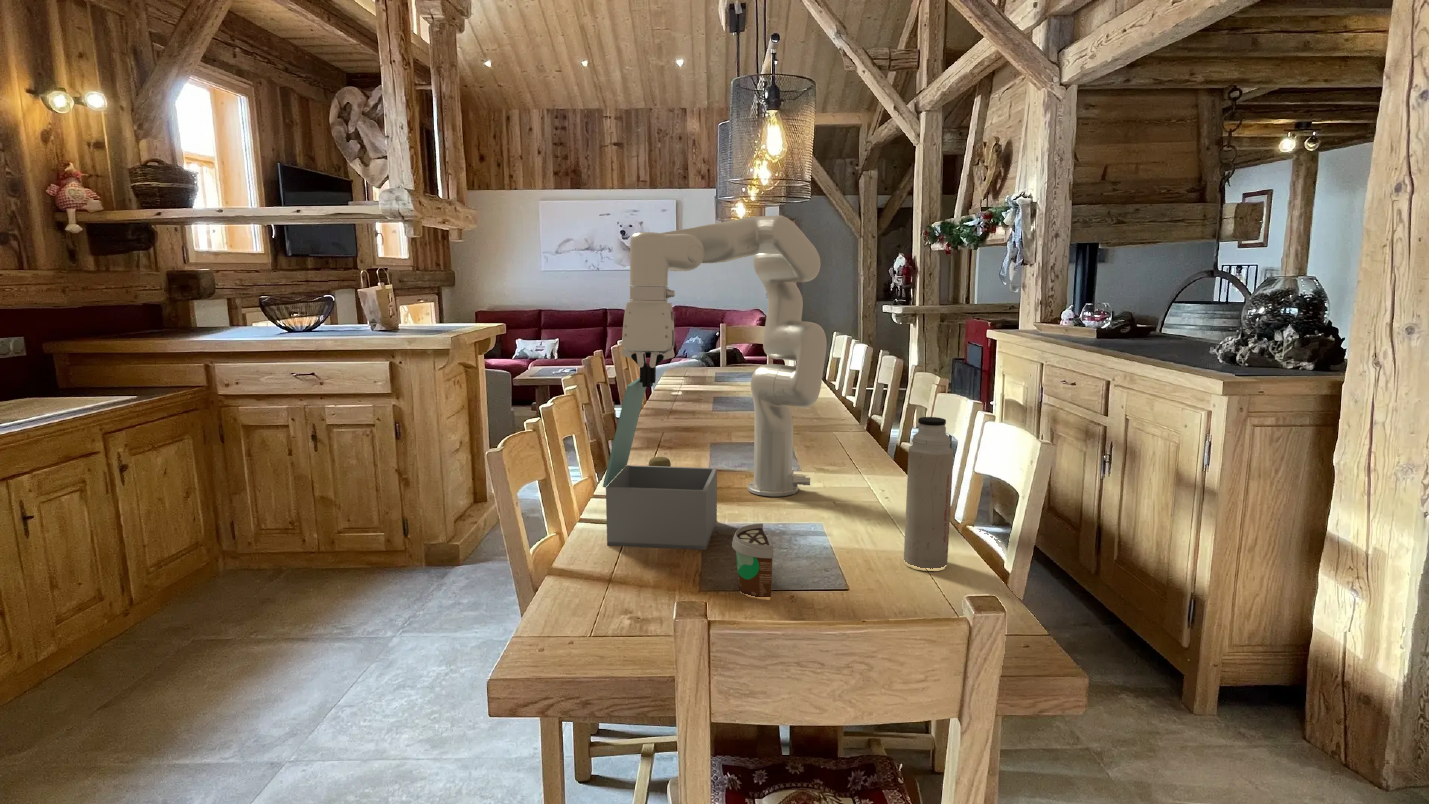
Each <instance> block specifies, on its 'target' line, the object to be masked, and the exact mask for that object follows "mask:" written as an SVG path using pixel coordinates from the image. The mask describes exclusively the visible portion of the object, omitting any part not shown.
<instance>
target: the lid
mask: <svg viewBox="0 0 1429 804" xmlns="http://www.w3.org/2000/svg"><path fill="white" fill-rule="evenodd" d="M646 390H647V386H646V387H642V383H640V377H638V378H637V379H635V380H633V381H632V382H631V383H629V384H627V385H626V388H625V391H624V392H625V394H624V396H623V399H622V400H623V401H622V404H621V409H620V413H619V417H618V420H617V421H618V422H617V425H616V430H615V434H614V438H613V442H612V447H611V451H610V453H609V459H608V463H607V467H606V471H605V475H604V480H603V483H602V484H603V485H602V488H605V489H606V487H607V486H608V485H609V484H610V483H611V482H612V481H613V479H614V478H615V477H616V476H617V475H618V474H619V473H620V472H621V471H622V470H623V469H624V468H625V467H626V466H627V465H628V463H629V457H630V454H631V451H632V450H631V449H632V445H633V442H634V438H635V435H636V434H635V433H636V430H637V425H638V422H639V418H640V413H641V410H642V406H643V401H644V399H645V394H646Z"/></svg>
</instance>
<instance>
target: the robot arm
mask: <svg viewBox="0 0 1429 804" xmlns="http://www.w3.org/2000/svg"><path fill="white" fill-rule="evenodd" d="M629 245H630V250H629V253H630V255H629V259H630V260H629V301H627V302H626V304H625V308H624V315H623V323H622V324H623V325H622V337H621V345H622V349H621V350H622V351H621V356H622V357H624V358H628V359H632V360H633V362H635V364H637V366H638V367H639V378H640V383H642V387H646V388H652V387H653V386H654V384H655V383H656V381H657V380H656V377H657V376H656V375H657V374H656V373H657V371H656V370H657V366H658V365H660V363H661V362H662V361H665V360H669V359H673V358H674V357H675V351H674V348H675V323H674V320H675V319H674V310H673V305H672V303H671V302H668V300H669V299H671V298H675V296H676V295H675V294H676V293H675V291H676V290H672V289H670V288H669V287H668V283H669V281H668V280H669V278H668V277H669V274H668V273H669V272H689V271H692V270H695V269H697V268H698V267H699V266H700V265H702V264H718V263H719V264H720V263H726V262H730V261H735V260H737V259H741V258H747V257H751V256H754V257H753V268H754V271H755V273H756V275H757V277H758V278H759V279H760V281H761V283H762V285H763V286H764V289H765V291H766V295H767V312H766V318H765V324H764V331H763V341H762V345H763V346H762V349H763V351H764V353H765V355H767V356H768V357H770V358H773V359H778V360H785V361H795V362H796V364H795V365H796V366H794V365H789V364H788V365H785V364H778V363H777V364H775V363H768V364H763V365H760V366H758V367H757V368H756V369H755V370H754V371H753V373H752V375H751V379H750V391H751V396H752V401H753V411H754V412H753V413H754V429H753V430H754V433H753V435H754V436H753V437H754V438H753V440H754V441H753V443H754V446H753V453H754V454H753V480H752V481H751V482H749V483H748V484H747V490H748V492H750V493H752V494H754V495H758V496H763V497H787V496H791V495H794V494H796V493H797V492H798V491H799V486H800V485H801V486H811V477H806V476H805V475H797V474H794V472H795V471H794V469H793V452H794V451H793V449H794V448H793V447H794V445H793V443H794V441H793V440H794V439H793V438H794V419H793V414H792V413H791V410H790V408H789V406H791V407H796V408H808V407H809V408H810V407H811V406H813V405H814V404H815V403H816V402H817V401H818V399H819V396H820V393H821V388H822V382H823V375H824V370H825V362H826V355H827V345H828V344H827V343H828V341H827V337H826V332H825V331H824V330H825V329H823V328H822V326H821V325H820V324H818V323H817V322H816V323H815V322H812V321H803V320H802V318H803V317H802V316H803V309H804V307H803V306H804V302H803V295H802V294H801V293H802V292H801V291H800V289H799V288H798V286H797V284H796V283H806V282H808V283H809V282H810V281H812V280H814V279H815V278H817V276H818V274H819V273H820V269H821V257H820V254H819V252H818V250H817V248H816V247H815V245H814V244H813V243H812V242H811V240H810V239H809V238H808V237H807V236H806V234H804V232H803V231H802V230H801V228H799V226H797V224H796V223H794V221H792V219H790V218H789V217H786V216H785V215H778V214H777V215H767V216H766V215H763V216H762V215H761V216H760V215H759V216H749V217H742V218H738V219H734V220H727V221H721V222H717V223H710V224H705V225H699V226H695V227H689V228H684V229H683V228H682V229H677V230H671V231H666V232H653V231H652V232H649V231H648V232H646V231H645V232H644V231H643V232H641V231H640V232H636V233H633V234H632V235H631V237H630V240H629ZM646 353H650V358H649V359H650V360H649V363H647V357H646ZM798 485H799V486H798Z"/></svg>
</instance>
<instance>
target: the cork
mask: <svg viewBox="0 0 1429 804" xmlns="http://www.w3.org/2000/svg"><path fill="white" fill-rule="evenodd" d="M648 466H666V467H672V464H671V461H670V459H669V458H668V457H665V456H654V457H651V458H650V459H649V461H648Z"/></svg>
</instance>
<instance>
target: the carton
mask: <svg viewBox="0 0 1429 804" xmlns="http://www.w3.org/2000/svg"><path fill="white" fill-rule="evenodd" d="M605 505H606V507H605V508H606V509H605V510H606V511H605V512H606V515H605V516H606V545H607V546H609V547H632V548H651V549H652V548H654V549H673V550H674V549H675V550H695V551H698V550H699V551H706V550H707V548H708V545H709V544H710V541H711V538H712V534H713V532H714V529H715V527H716V524H717V523H718V512H717V511H718V468H715V467H692V466H690V467H689V466H670V467H666V466H649V465H631V464H629V465H628V464H627V465H626V466H625V467H624V468H623V469H622V470H621V472H620V473H619V474H618V475H617V476H616V477H615V478H614V479H613V480H612V481H611V482H610V483H609V484H608V485H607V487H606V488H605Z"/></svg>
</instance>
